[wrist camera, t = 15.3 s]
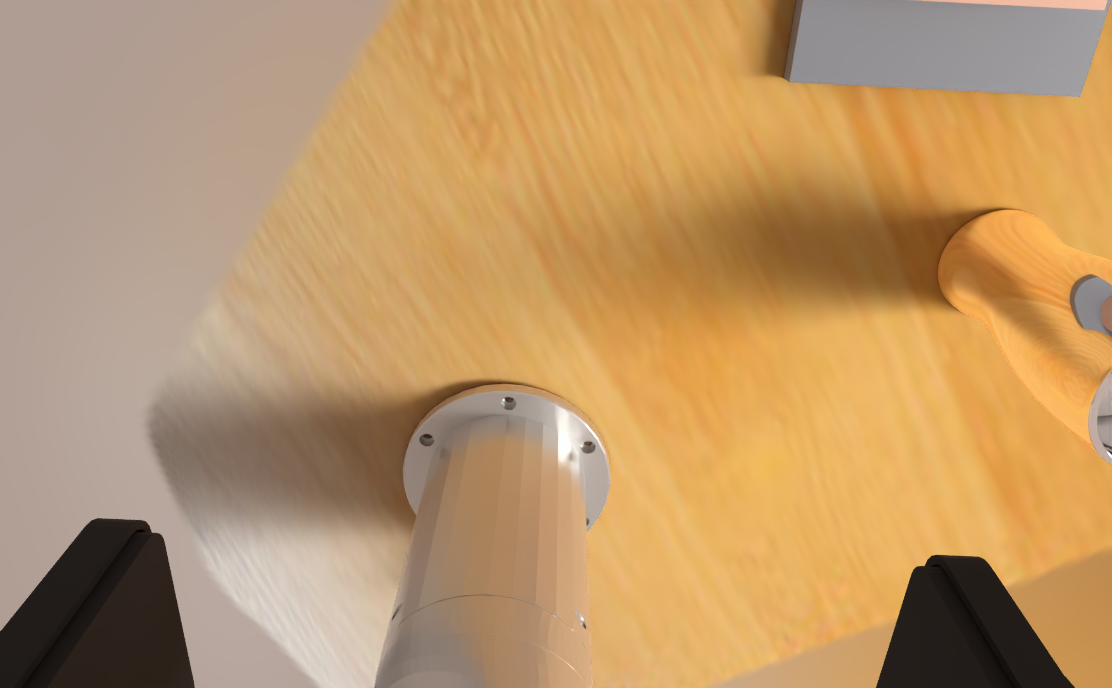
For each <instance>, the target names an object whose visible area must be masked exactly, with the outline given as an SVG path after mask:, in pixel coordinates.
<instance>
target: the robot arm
mask: <svg viewBox="0 0 1112 688" xmlns="http://www.w3.org/2000/svg"><path fill="white" fill-rule="evenodd" d="M506 397H511V398H512V399H508V398H506ZM428 434H430V435H428ZM586 441H590V442H586ZM403 485H404V488H405V492H406V496H407V499H408V502H409V504H410V505H411V507H412V509H413V511H414V513H415V515H416V520H415V524H414V528H413V532H412V535H411V539H410V543H409V547H408V551H407V555H406V559H405V563H404V567H403V571H402V575H401V579H400V583H399V587H398V591H397V595H396V598H395V602H394V606H393V610H392V614H391V618H390V622H389V626H388V630H387V634H386V638H385V642H384V646H383V650H382V654H381V659H380V663H379V667H378V671H377V675H376V680H375V687H374V688H593V678H592V659H591V633H590V606H589V579H588V552H587V532H588V531H589V530H590V529H591V528H592V526H593V525H594V524H595V522H596V521H597V520H598V519H599V517H600V516H601V514H602V511H603V509H604V507H605V505H606V503H607V500H608V495H609V490H610V465H609V458H608V453H607V450H606V447H605V445H604V442H603V439H602V437H601V436H600V434H599V433H598V431H597V430H596V428H595V427H594V425H593V423H592V422H591V421H590V420H589V419H588V418H587V417H586V416H585V415H584V414H583V413H582V412H581V411H580V410H579V409H577V408H576V407H574V406H573V405H571V404H570V403H568V402H567V401H566V400H564V399H562V398H560V397H558V396H556V395H554V394H551V393H549V392H547V391H544V390H540V389H537V388H533V387H529V386H525V385H513V384H495V385H484V386H480V387H476V388H472V389H468V390H464V391H462V392H460V393H458V394H456V395H453V396H451V397H449V398H447V399H446V400H444V401H443V402H441V403H440V404H438V405H437V406H436V407H434V408H433V409H432V410H431V411H430V412H429V413H428V414H427V415H426V416H425V417H424V418H423V419H422V420H421V421H420V423H419V424H418V426H417V428H416V429H415V431H414V433H413V434H412V436H411V439H410V442H409V445H408V447H407V450H406V454H405V459H404V464H403ZM0 688H195V687H194V680H193V676H192V671H191V667H190V661H189V657H188V652H187V647H186V642H185V638H184V633H183V628H182V623H181V618H180V614H179V609H178V604H177V599H176V594H175V590H174V585H173V580H172V576H171V570H170V566H169V562H168V556H167V552H166V547H165V542H164V539H163V537H162V535H160V534H159V533H152V532H151V529H150V526H149V525H148V524H147V522H145V521H142V520H123V519H101V518H97V519H94V520H92V521H91V522H89V524H88V525H86V526H85V527H84V529H83V530H82V531H81V532H80V534H79V535H78V536H77V537H76V539H75V540H74V541H73V542H72V544H71V545H70V546H69V547H68V549H67V550H66V551H65V552H64V553H63V555H62V556H61V557H60V558H59V560H58V561H57V562H56V563H55V565H54V566H53V567H52V568H51V570H50V571H49V572H48V573H47V575H46V576H45V577H44V578H43V580H42V581H41V582H40V583H39V584H38V586H37V587H36V588H35V589H34V591H33V592H32V593H31V595H30V596H29V597H28V598H27V599H26V601H25V602H24V603H23V604H22V605H21V607H20V608H19V609H18V611H17V612H16V613H15V614H14V615H13V617H12V618H11V619H10V620H9V622H8V623H7V624H6V625H5V627H4V628H3V629H2V630H1V631H0ZM876 688H1075V687H1074V686H1073V685H1072V684H1071V683H1070V681H1069V680H1068V679H1067V678H1066V677H1065V676H1064V675H1063V673H1062V672H1061V670H1060V669H1059V667H1058V666H1057V664H1056V663H1055V661H1054V660H1053V658H1052V657H1051V655H1050V654H1049V653H1048V651H1047V649H1046V648H1045V646H1044V645H1043V643H1042V642H1041V641H1040V639H1039V638H1038V636H1037V635H1036V633H1035V632H1034V630H1033V629H1032V627H1031V626H1030V624H1029V623H1028V621H1027V620H1026V618H1025V617H1024V615H1023V614H1022V612H1021V611H1020V609H1019V608H1018V606H1017V605H1016V604H1015V602H1014V601H1013V599H1012V597H1011V596H1010V594H1009V593H1008V591H1007V590H1006V588H1005V587H1004V586H1003V584H1002V583H1001V581H1000V580H999V578H998V577H997V575H996V574H995V572H994V571H993V569H992V568H991V566H990V565H989V564H988V563H987V562H986V560H985V559H982V558H980V557H972V556H949V555H933V556H931V557H930V558H929V559H928V560H927V562H926V564H925V566H918V567H916V568H915V569H914V570H913V572H912V574H911V578H910V581H909V584H908V587H907V590H906V594H905V597H904V600H903V603H902V606H901V610H900V613H899V616H898V619H897V622H896V626H895V629H894V632H893V635H892V639H891V642H890V645H889V648H888V651H887V655H886V658H885V661H884V664H883V667H882V670H881V674H880V677H879V680H878V683H877V686H876Z"/></svg>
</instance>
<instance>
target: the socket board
mask: <svg viewBox="0 0 1112 688" xmlns="http://www.w3.org/2000/svg"><path fill="white" fill-rule="evenodd" d="M1110 3H1111V0H796V6H795V12H794V18H793V24H792V30H791V36H790V42H789V48H788V54H787V60H786V66H785V72H784V79H786V80H787V81H789V82H798V83H818V84H837V85H857V86H877V87H896V88H916V89H935V90H955V91H974V92H994V93H1013V94H1033V95H1053V96H1072V97H1080V96H1081V93H1082V90H1083V87H1084V84H1085V81H1086V78H1087V75H1088V71H1089V68H1090V65H1091V62H1092V59H1093V56H1094V53H1095V50H1096V47H1097V44H1098V40H1099V37H1100V34H1101V31H1102V28H1103V25H1104V22H1105V19H1106V16H1107V13H1108V9H1109V6H1110Z"/></svg>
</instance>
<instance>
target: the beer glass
mask: <svg viewBox="0 0 1112 688" xmlns="http://www.w3.org/2000/svg"><path fill="white" fill-rule="evenodd" d="M938 282H939V286H940V289H941V291H942V293H943V295H944V297H945V298H946V300H947V301H948V302H949V303H950V304H951V305H952V306H954V307H955V308H956V309H958V310H959V311H961V312H963V313H964V314H966V315H968V316H971V317H973V318H975V319H977V320H979V321H980V322H982V323H983V324H984V325H985V326H986V327H987V328H988V330H989V331H990V333H991V334H992V336H993V338H994V339H995V341H996V343H997V345H998V347H999V348H1000V350H1001V352H1002V354H1003V355H1004V357H1005V359H1006V360H1007V362H1008V364H1009V365H1010V367H1011V369H1012V370H1013V372H1014V373H1015V374H1016V376H1017V377H1018V379H1019V380H1020V382H1021V383H1022V384H1023V386H1024V387H1025V388H1026V390H1027V391H1028V392H1029V393H1030V394H1031V395H1032V396H1033V397H1034V398H1035V399H1036V401H1037V402H1038V403H1039V404H1040V405H1041V406H1042V407H1043V408H1044V409H1045V410H1046V411H1047V412H1048V413H1049V414H1051V415H1052V416H1053V417H1054V418H1055V419H1056V420H1057V421H1058V422H1059V423H1060V424H1062V425H1063V426H1064V427H1065V428H1066V429H1068V430H1069V431H1070V432H1071V433H1073V434H1074V435H1075V436H1076V437H1078V438H1079V439H1080V440H1081V441H1083V442H1084V443H1085V444H1087V445H1088V446H1089V447H1091V448H1092V449H1093V450H1094V451H1096V452H1097V453H1098V454H1099V455H1100V456H1101V457H1102V458H1103V459H1104V460H1105V461H1106V462H1108V463H1109V464H1111V465H1112V260H1111V259H1107V258H1104V257H1101V256H1097V255H1094V254H1090V253H1087V252H1083V251H1080V250H1077V249H1074V248H1071V247H1069V246H1067V245H1065V244H1064V243H1062V242H1061V241H1060V240H1059V239H1058V238H1057V236H1056V235H1055V234H1054V233H1053V232H1052V230H1051V229H1050V228H1049V227H1048V226H1047V225H1046V224H1045V223H1044V222H1043V221H1042V220H1040V219H1039V218H1037V217H1036V216H1034V215H1032V214H1030V213H1027V212H1024V211H1019V210H998V211H993V212H989V213H986V214H983V215H981V216H979V217H977V218H975V219H973V220H971V221H970V222H968V223H967V224H965V225H964V226H963V227H962V228H960V229H959V230H958V231H957V232H956V233H955V234H954V236H953V237H952V238H951V239H950V241H949V242H948V243H947V245H946V247H945V249H944V250H943V253H942V255H941V258H940V261H939V266H938Z"/></svg>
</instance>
